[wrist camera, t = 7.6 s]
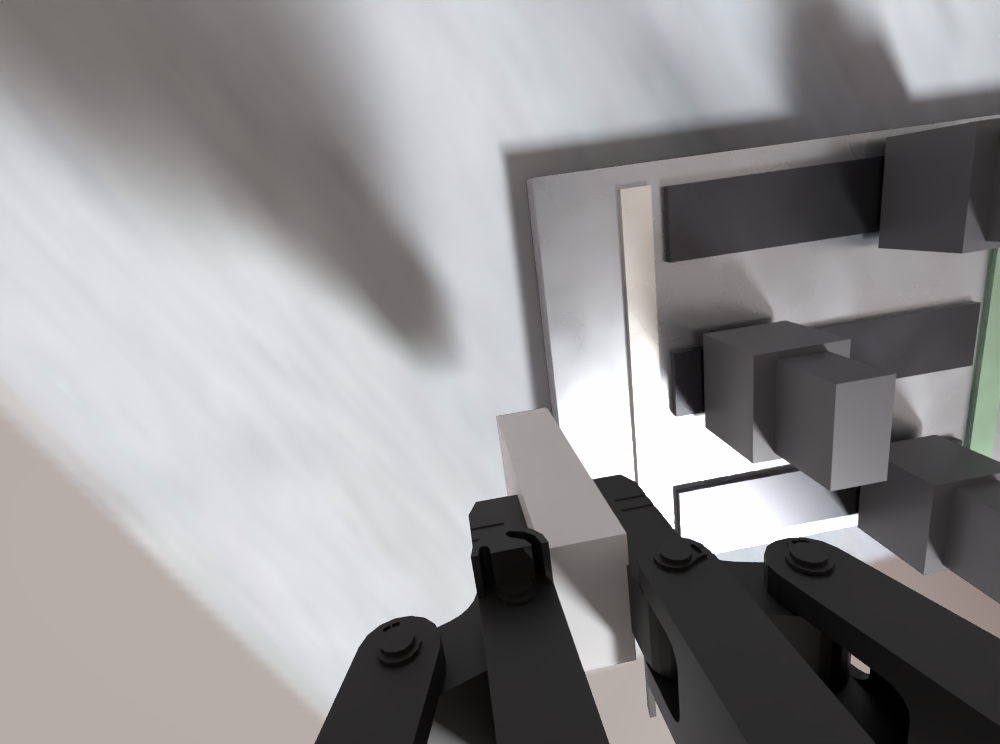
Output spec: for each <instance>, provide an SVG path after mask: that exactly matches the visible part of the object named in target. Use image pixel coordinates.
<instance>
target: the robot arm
mask: <svg viewBox="0 0 1000 744" xmlns="http://www.w3.org/2000/svg"><path fill="white" fill-rule="evenodd" d="M496 419H497V426H498V432H499V439H500V446H501V453H502V460H503V467H504V473H505V480H506V487H507V494H508V496H506V497H501V498H496V499H490V500H485V501H479V502H476V503H475V505H474V507H473V508H472V510H471V512H470V514H469V522H470V529H471V537H472V545H473V549H472V554H471V561H472V566H473V572H474V578H475V584H476V589H477V594H476V597H475V599H474V601H473V603H472V604H471V605H470V607H469V608H468V609H467V610H466V611H465V612H463V613H462V614H461V615H460V616H458V617H457V618H455V619H453V620H451V621H450V622H448V623H446V624H444V625H441V626H439V627H436V625H435V624H434V623H433V622H431V621H429V620H427V619H426V618H423V617H415V616H407V617H401V618H395V619H393V620H391V621H388V622H386V623H384V624H382V625H380V626H379V627H377V628H376V629H375V630H374V631H372V632H371V633H370V634H369V635H367V637H366V638H365V639H364V641H363V642H362V644H361V645H360V647H359V648H358V650H357V653H356V655H355V657H354V659H353V661H352V663H351V666H350V668H349V670H348V672H347V674H346V676H345V679H344V681H343V683H342V685H341V687H340V690H339V692H338V694H337V696H336V698H335V700H334V703H333V705H332V707H331V709H330V711H329V713H328V716H327V718H326V720H325V722H324V724H323V727H322V729H321V731H320V733H319V735H318V737H317V740H316V742H315V744H609V741H608V739H607V736H606V733H605V730H604V727H603V724H602V721H601V718H600V715H599V713H598V710H597V707H596V704H595V701H594V698H593V695H592V692H591V689H590V686H589V684H588V681H587V678H586V675H585V672H584V671H587V670H592V669H596V668H601V667H606V666H610V665H615V664H620V663H624V662H629V661H634V660H636V650H635V639H636V641H637V643H638V645H639V647H640V649H641V651H642V653H643V655H644V663H645V677H646V691H647V704H648V709H649V715H650V717H654V716H656V706H655V701H656V702H657V705H658V707H659V709H660V711H661V713H662V715H663V718H664V720H665V722H666V724H667V726H668V728H669V730H670V733H671V735H672V737H673V739H674V741H675V743H676V744H1000V639H999V638H998V637H996V636H994V635H992V634H990V633H989V632H987V631H985V630H983V629H981V628H980V627H978V626H976V625H974V624H973V623H971V622H969V621H967V620H965V619H963V618H962V617H960V616H958V615H957V614H955V613H953V612H951V611H949V610H947V609H946V608H944V607H942V606H940V605H939V604H937V603H935V602H933V601H931V600H930V599H928V598H926V597H924V596H923V595H921V594H919V593H917V592H916V591H914V590H912V589H910V588H908V587H906V586H905V585H903V584H901V583H899V582H898V581H896V580H894V579H892V578H890V577H889V576H887V575H885V574H883V573H882V572H880V571H878V570H876V569H875V568H873V567H871V566H869V565H867V564H866V563H864V562H862V561H860V560H858V559H857V558H855V557H853V556H851V555H850V554H848V553H846V552H844V551H842V550H841V549H839V548H837V547H835V546H832V545H830V544H827V543H825V542H823V541H819V540H814V539H809V538H801V537H788V538H784V539H779V540H775V541H774V542H773V543H771V544H770V545H768V546H767V548H766V550H765V553H764V563H763V562H732V561H722V560H719V559H718V558H717V557H716V556H715V555H714V553H713V552H712V551H711V550H709V549H708V548H707V547H706V546H704V545H703V544H702V543H700V542H697V541H695V540H692V539H690V538H684V537H680V536H679V534H678V533H677V532H676V531H675V529H674V528H673V527H672V526H671V524H670V523H669V522H668V521H667V519H666V518H665V517H664V516H663V514H662V513H661V512H660V511H659V509H658V508H657V507H656V506H654V503H653V502H652V501H651V499H650V498H649V497H648V496H647V495H646V493H645V492H644V491H643V489H642V488H641V487H640V486H639V484H638V483H637V482H635V481H633V480H632V479H630V478H628V477H626V476H624V475H622V474H617V475H611V476H606V477H601V478H595V479H592V478H591V476H590V475H589V473H588V472H587V470H586V468H585V467H584V465H583V464H582V462H581V461H580V459H579V457H578V456H577V454H576V453H575V451H574V449H573V448H572V446H571V445H570V443H569V442H568V440H567V438H566V437H565V435H564V434H563V432H562V430H561V429H560V427H559V426H558V424H557V423H556V421H555V419H554V418H553V416H552V415H551V413H550V411H549V410H548V408H547V407H546V408H540V409H534V410H528V411H522V412H517V413H511V414H505V415H499V416H496ZM851 654H852V655H853V656H855V657H856V658H857V659H859V660H860V661H862V662H863V663H864V664H866V665H867V666H868V667H870V674H867V673H864V672H862V671H861V670H859V669H857V668H856V667H855V666H853V665H852V664H851V663H850V661H851Z"/></svg>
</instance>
